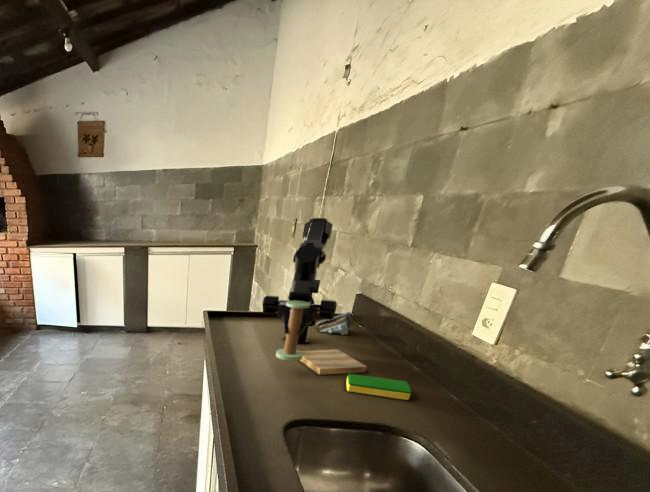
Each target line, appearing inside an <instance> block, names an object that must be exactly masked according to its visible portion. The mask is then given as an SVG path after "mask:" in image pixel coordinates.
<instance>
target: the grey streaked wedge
mask: <svg viewBox="0 0 650 492" xmlns="http://www.w3.org/2000/svg"><path fill="white" fill-rule="evenodd" d="M352 324H353V319H352V316H351V312H350V311H349V312H348V311H347V312H344V313H340V314H337V315H334V318H333V319H331V320H329V319H320V320H318V321H317V322H315V327H316V328H318V329H319V332H320V333H322V332H323V333H329V334H330V335H333V334H340V335H341V336H344V335H348V334H349V329H350V328H351V327H352Z"/></svg>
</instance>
